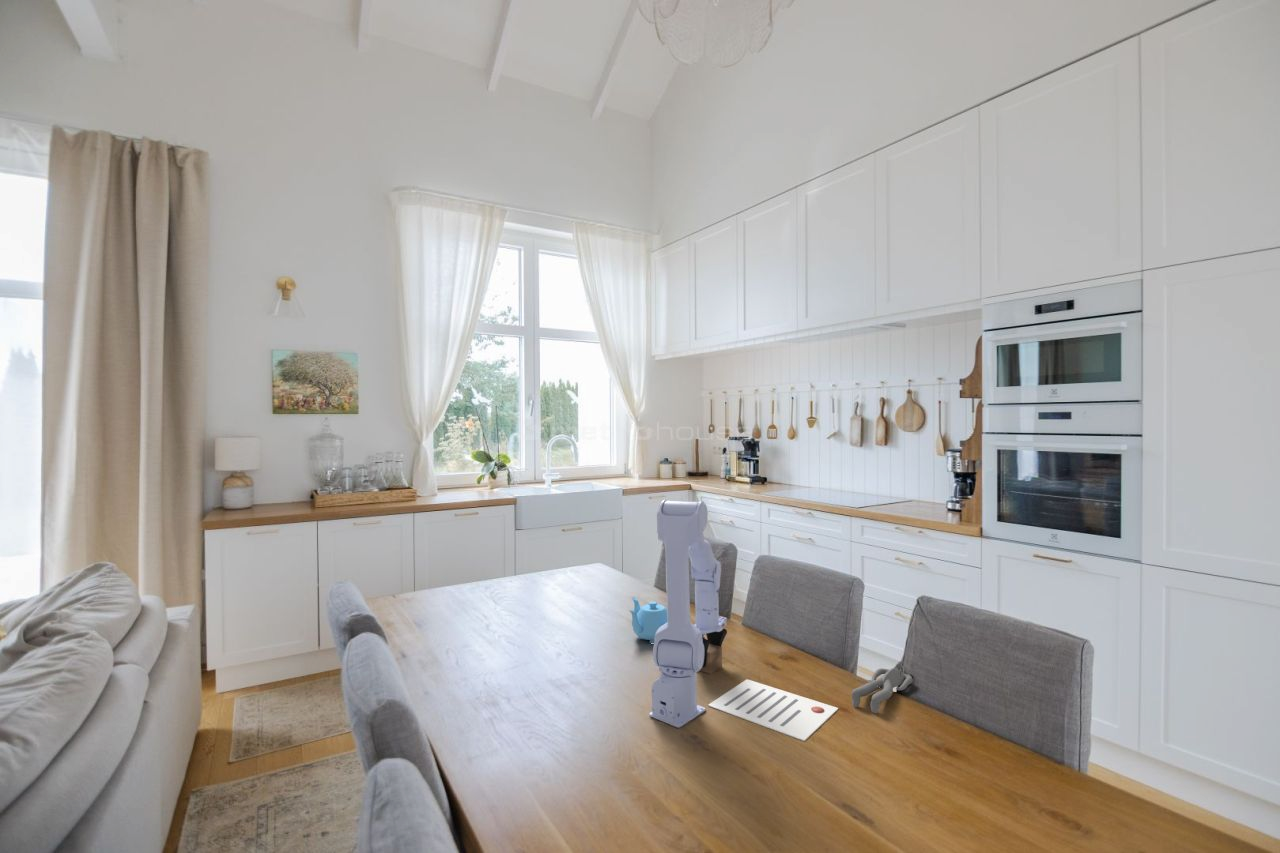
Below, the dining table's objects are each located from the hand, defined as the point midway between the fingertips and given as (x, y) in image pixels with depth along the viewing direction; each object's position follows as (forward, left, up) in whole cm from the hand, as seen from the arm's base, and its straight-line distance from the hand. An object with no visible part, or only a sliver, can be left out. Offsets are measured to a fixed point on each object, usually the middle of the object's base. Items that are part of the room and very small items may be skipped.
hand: (707, 662), depth 146 cm
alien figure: (+15, -38, +2) cm, 41 cm away
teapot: (+7, +23, -2) cm, 24 cm away
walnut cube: (0, 0, -1) cm, 1 cm away
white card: (-8, -22, -1) cm, 23 cm away
